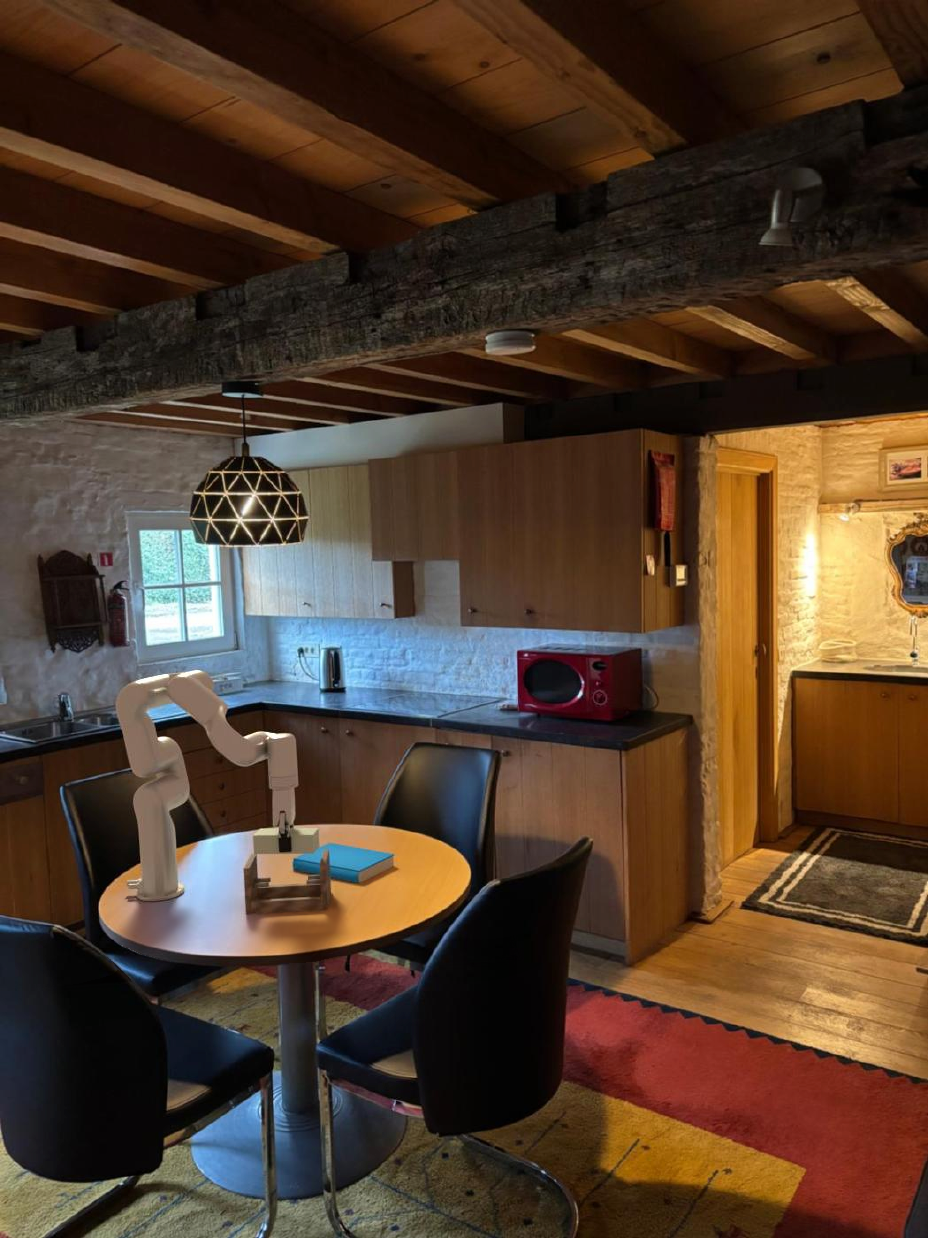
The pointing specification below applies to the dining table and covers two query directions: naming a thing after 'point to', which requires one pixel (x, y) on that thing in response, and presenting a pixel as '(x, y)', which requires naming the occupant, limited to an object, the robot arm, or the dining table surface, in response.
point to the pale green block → (300, 841)
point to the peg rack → (286, 890)
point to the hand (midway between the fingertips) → (287, 847)
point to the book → (346, 862)
